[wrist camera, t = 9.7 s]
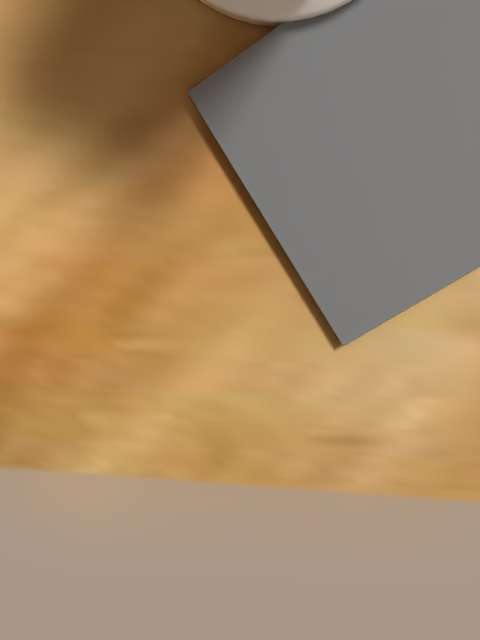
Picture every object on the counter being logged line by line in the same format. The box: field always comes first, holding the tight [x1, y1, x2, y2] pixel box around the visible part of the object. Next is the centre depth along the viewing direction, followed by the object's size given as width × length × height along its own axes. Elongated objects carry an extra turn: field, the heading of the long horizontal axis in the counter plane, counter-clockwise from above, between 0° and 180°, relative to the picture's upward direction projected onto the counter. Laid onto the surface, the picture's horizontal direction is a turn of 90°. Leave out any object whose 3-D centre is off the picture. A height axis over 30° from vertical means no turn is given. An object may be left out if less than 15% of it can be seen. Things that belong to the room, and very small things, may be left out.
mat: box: [187, 0, 480, 346], centre depth 18 cm, size 12×12×1 cm
